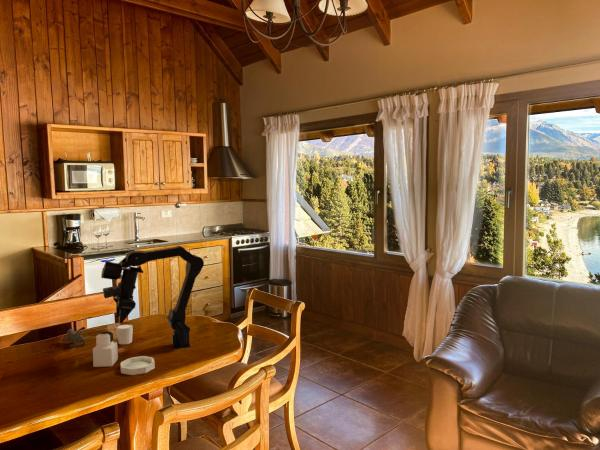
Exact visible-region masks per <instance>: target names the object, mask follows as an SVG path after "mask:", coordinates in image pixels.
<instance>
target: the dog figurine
mask: <svg viewBox="0 0 600 450" xmlns="http://www.w3.org/2000/svg"><path fill="white" fill-rule="evenodd" d="M61 341H62V342H63V341H69V342H73V343H72V344H71V345H70V346H69V347H70V348H74V347H77V345H78V344H81V343H82V345H83V346H84V345H87V343H86V340H85V339H84V337H83V335H82V330H81V329H78V330H77V331H76V332H75V329H73V328H70V329H68V330H67V331H66V337H63V338H62V339H61Z"/></svg>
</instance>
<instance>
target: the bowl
mask: <svg viewBox="0 0 600 450" xmlns="http://www.w3.org/2000/svg"><path fill="white" fill-rule="evenodd" d="M155 364H156V363H155V358H154V357H150V356H146V355H140V356H134V357H129V358H127V359H125V360H123V361H121V362H120V374H124V375H129V376H134V375H135V376H136V375H143V374H146V373H147V374H148V372H150V371H152V370H154V369H155V368H156V367H155V366H156V365H155Z"/></svg>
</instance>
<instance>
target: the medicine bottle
mask: <svg viewBox="0 0 600 450" xmlns="http://www.w3.org/2000/svg"><path fill="white" fill-rule="evenodd" d="M95 341H96V345H95V346H94V347H93V348H92V366H93V367H94V368H98V367H99V368H102V367H114V364H115V363H116V362H117V361H118V360H119V356H118V355H119V352H118V341H114V333H113V332H112V331H102V332H99V333H97V334H96V335H95Z"/></svg>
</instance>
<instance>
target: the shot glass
mask: <svg viewBox="0 0 600 450" xmlns="http://www.w3.org/2000/svg"><path fill="white" fill-rule="evenodd" d="M115 328H116V337H117V344H119V345H129V344H131V343H133V331H134V330H133V328H134V325H133V324H120V325H117V326H116V327H115Z"/></svg>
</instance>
